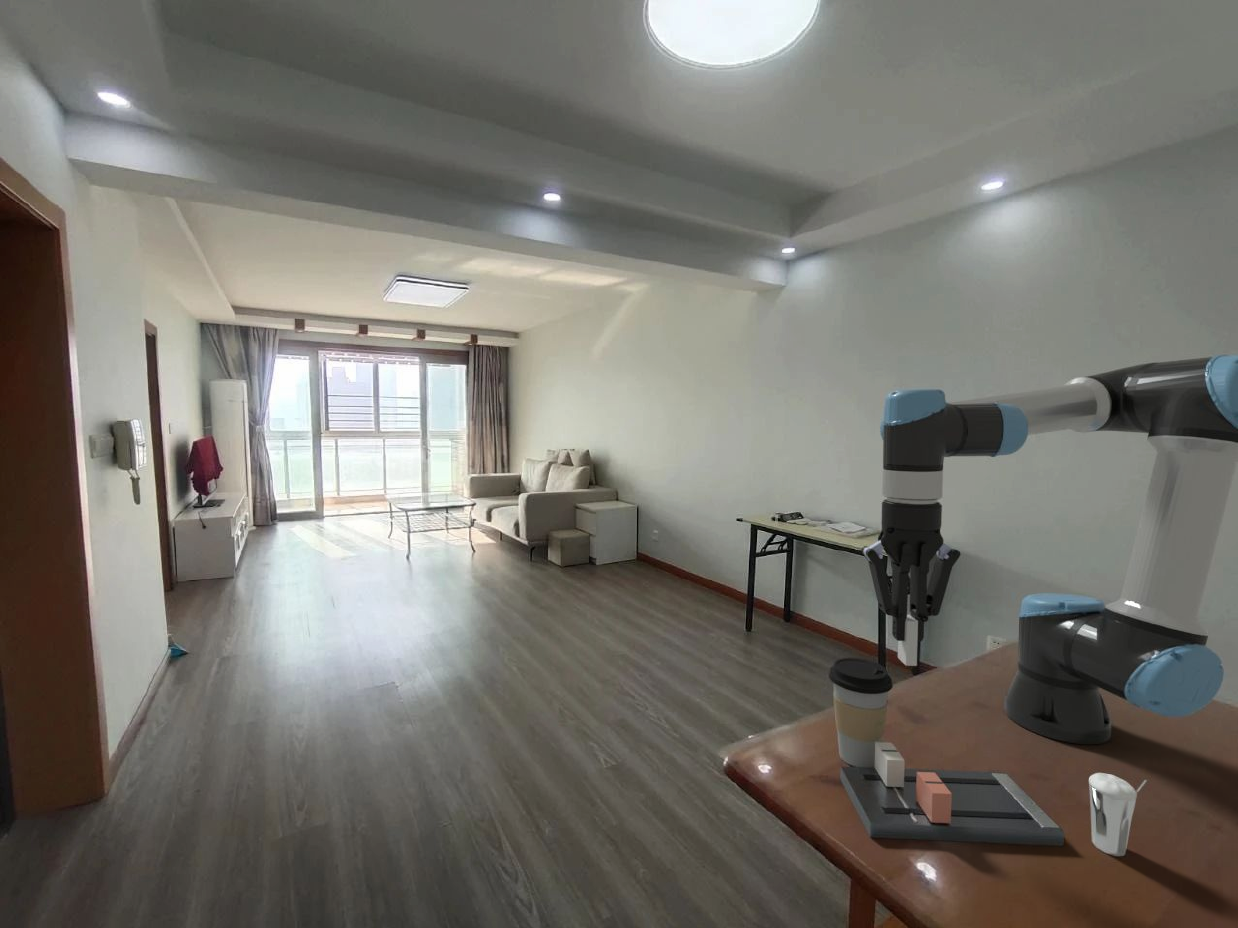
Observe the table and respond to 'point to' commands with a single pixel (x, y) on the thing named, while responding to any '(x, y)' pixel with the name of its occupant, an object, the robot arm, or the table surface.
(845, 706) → the coffee cup
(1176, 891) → the table surface
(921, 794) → the fader
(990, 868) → the table surface
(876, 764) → the fader
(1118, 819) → the milkshake
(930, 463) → the robot arm
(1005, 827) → the console
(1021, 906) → the table surface
